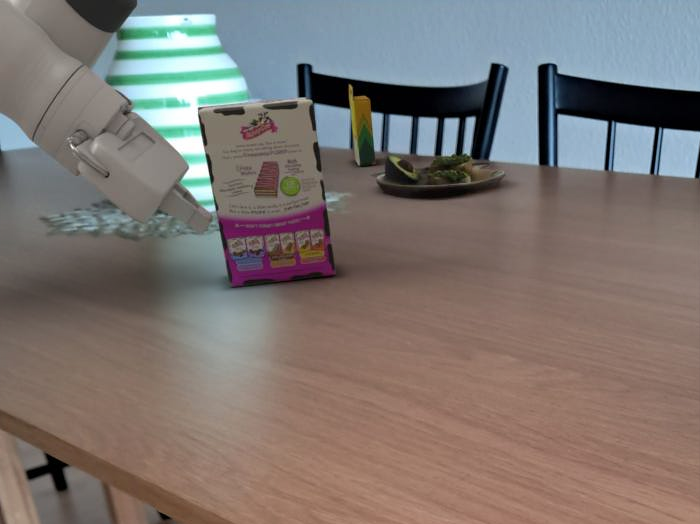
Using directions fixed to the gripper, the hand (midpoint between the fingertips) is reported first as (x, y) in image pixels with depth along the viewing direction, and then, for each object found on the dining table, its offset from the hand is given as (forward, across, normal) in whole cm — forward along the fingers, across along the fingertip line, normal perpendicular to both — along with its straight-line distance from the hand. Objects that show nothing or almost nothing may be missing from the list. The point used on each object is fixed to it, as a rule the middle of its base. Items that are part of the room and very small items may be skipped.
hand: (208, 226), depth 104 cm
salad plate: (+23, +46, -15) cm, 54 cm away
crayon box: (+16, +75, -8) cm, 77 cm away
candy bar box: (+9, -1, -1) cm, 9 cm away
